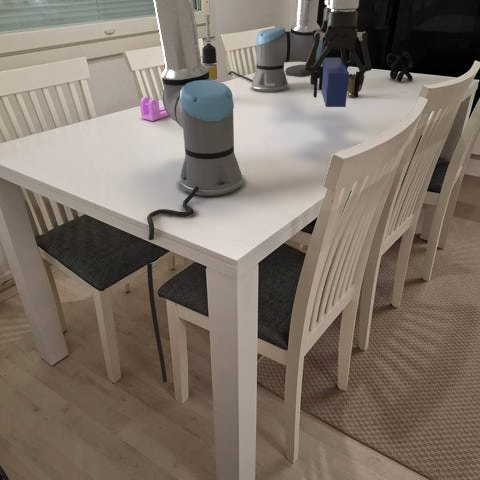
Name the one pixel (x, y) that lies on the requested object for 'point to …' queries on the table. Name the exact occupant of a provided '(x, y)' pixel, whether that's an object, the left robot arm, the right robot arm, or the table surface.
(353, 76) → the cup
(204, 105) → the left robot arm
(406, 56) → the squiggle
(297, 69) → the dark grey paddle
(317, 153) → the table surface
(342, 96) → the bar
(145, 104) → the bracket
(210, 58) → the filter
